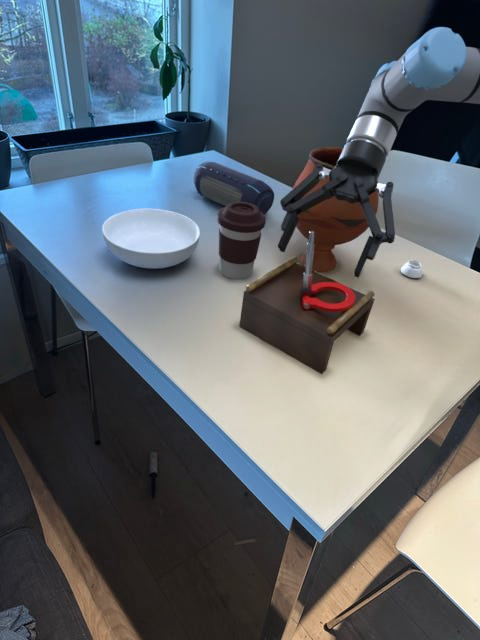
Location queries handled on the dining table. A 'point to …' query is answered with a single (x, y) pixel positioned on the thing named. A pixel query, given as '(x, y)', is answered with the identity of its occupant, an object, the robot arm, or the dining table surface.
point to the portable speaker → (231, 186)
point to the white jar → (412, 269)
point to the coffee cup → (239, 238)
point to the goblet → (330, 215)
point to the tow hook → (321, 286)
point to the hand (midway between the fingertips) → (317, 261)
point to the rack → (300, 315)
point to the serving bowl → (151, 237)
